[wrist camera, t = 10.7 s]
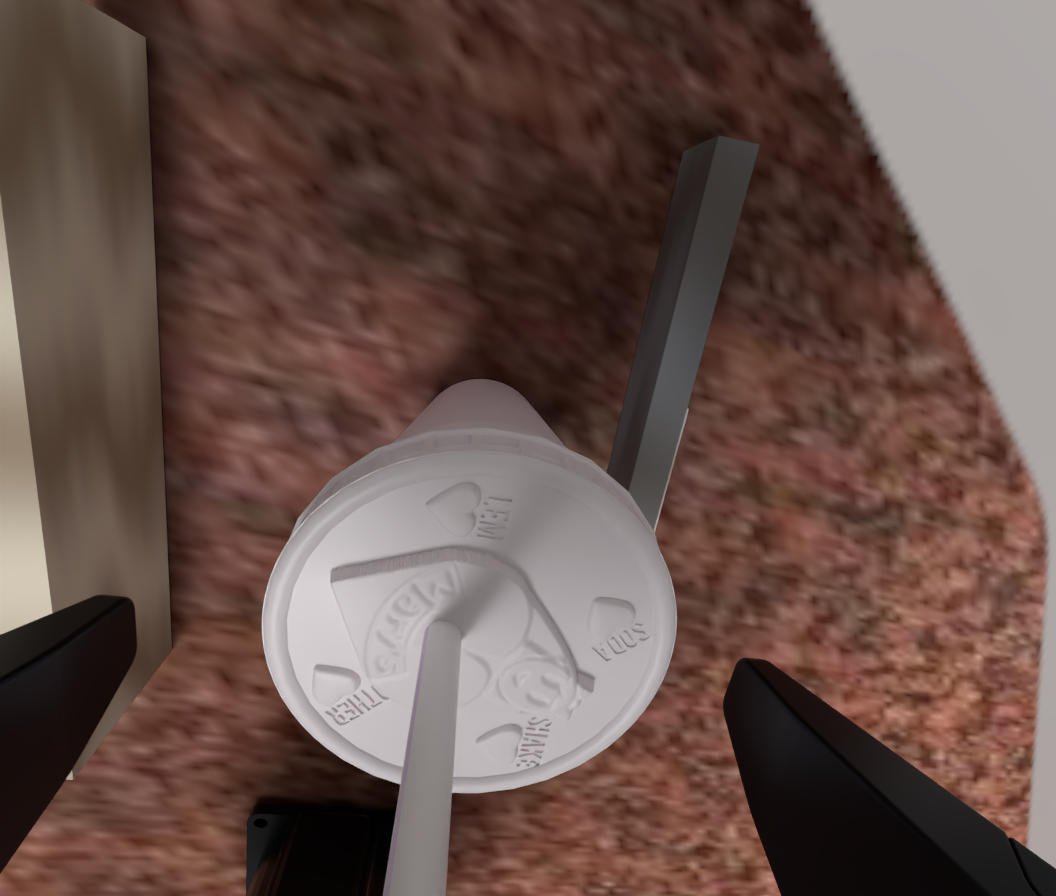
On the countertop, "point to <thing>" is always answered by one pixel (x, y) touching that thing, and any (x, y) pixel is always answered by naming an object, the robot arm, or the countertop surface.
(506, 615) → the smoothie
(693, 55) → the countertop surface
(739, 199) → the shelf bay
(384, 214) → the countertop surface
